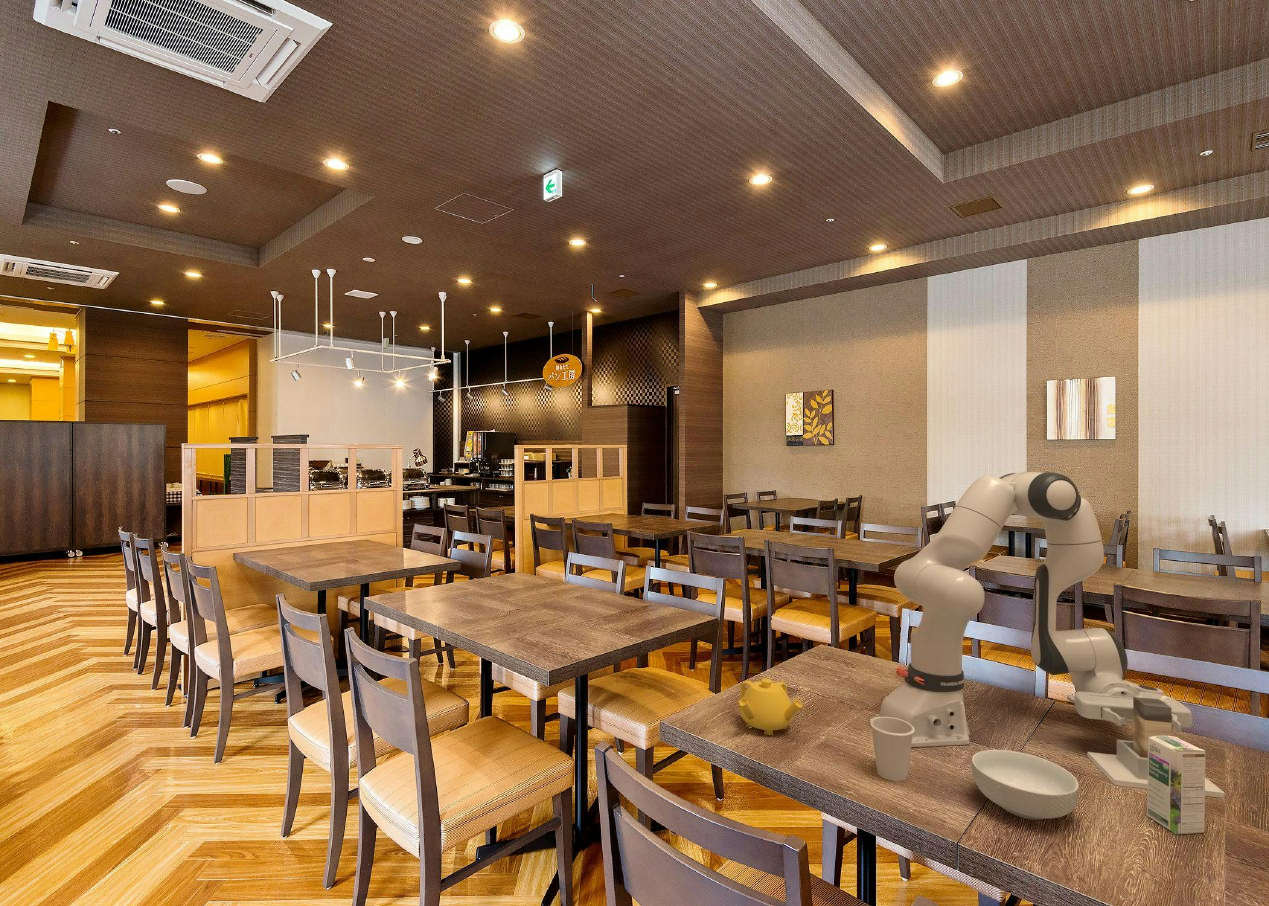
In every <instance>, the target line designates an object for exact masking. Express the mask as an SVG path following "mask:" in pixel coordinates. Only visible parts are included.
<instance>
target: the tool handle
mask: <svg viewBox="0 0 1269 906" xmlns="http://www.w3.org/2000/svg"><path fill="white" fill-rule="evenodd" d="M1132 729H1133V730H1132V741H1133V751H1134V752H1135V753H1136V754H1138V755H1139V756H1140V757H1143V758H1148V737H1152V736H1172V708H1171V707H1170V706H1168V705H1167V704H1165V703H1164V702H1162V701H1161V700H1159V699H1152V698H1141V697H1133V723H1132Z"/></svg>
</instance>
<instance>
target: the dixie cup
mask: <svg viewBox="0 0 1269 906" xmlns="http://www.w3.org/2000/svg"><path fill="white" fill-rule="evenodd" d="M876 717H877V716H876ZM869 725H870V727H871V726H872V727H871V731H872V732H871V733H872V739H873V750H874V756H875V763H876V764H875V765H876V772H877V774H878V775H879V776H880V777H881V778H883V779H885V780H887V781H891V780H893V781H892V782H903V781H905V780H907V779H908V772H909V766H910V765H909V764H910V759H911V758H910V757H911V750H912V747H911V744H912V737H913V733H914V731H915V729H914V727H913V726H912V725H911V724H910V723H908V722H906V721H904V720H901V719H898V718H893V717H877V718H874V719H872V720H871V722H870V721H869Z"/></svg>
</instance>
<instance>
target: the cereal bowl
mask: <svg viewBox="0 0 1269 906" xmlns="http://www.w3.org/2000/svg"><path fill="white" fill-rule="evenodd" d="M970 764H971V773H972V777H973V780H974V783H975V784H976V786H977V788H978V789H979V791H980V792H981V793H982V794H983V795H984V796H985V797H986V798H988V799H989V800H990V801H991V802H992V803H994V804H995V805H998V806H999V807H1001V809H1003V810H1004V809H1005V811H1006V812H1007V813H1009V812H1010V814H1011V813H1012V814H1011V815H1014V816H1017V817H1019V818H1022V817H1023V819H1028V820H1034V821H1036V820H1044V819H1047V820H1049V819H1056V818H1057V819H1058V818H1061V817H1063V816H1064V817H1065V816H1066V815H1068V814H1070V813H1071V812H1072V811H1073V810H1074V808H1075V807H1076V806H1077V805H1078V802H1079V801H1078V800H1079V795H1080V784H1079V781H1078V780H1077V778H1076V777H1075V776H1074V775H1073V774H1072V773H1071V772H1070V771H1068V770H1067V769H1065V768H1064V767H1062V766H1060V765H1058V764H1056V763H1054V762H1052V761H1050V760H1048V759H1046V758H1045V759H1044V758H1042V757H1039V756H1036V755H1033V754H1029V753H1025V752H1020V751H1015V750H1007V749H987V750H981V751H978V752H976V753H975V754H973V756H972V757H971V763H970Z"/></svg>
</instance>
